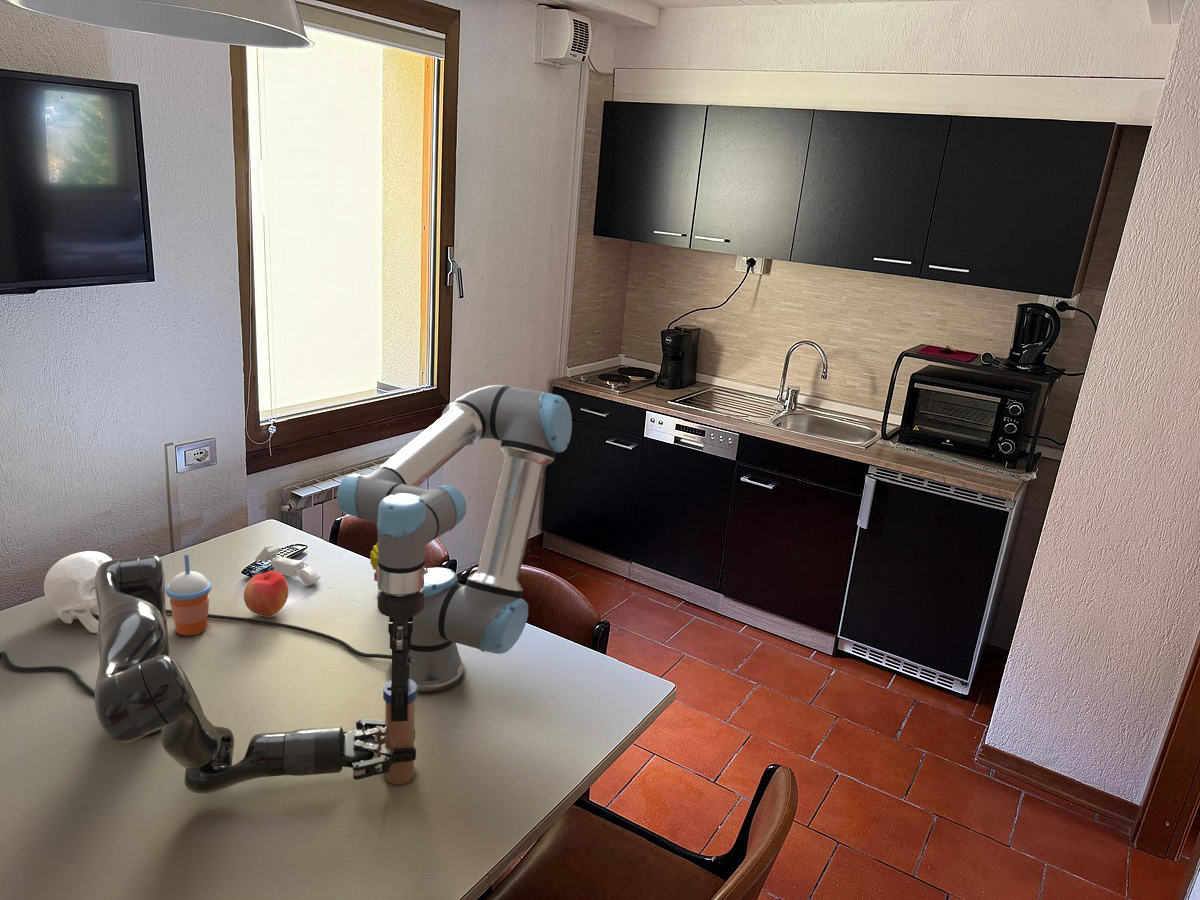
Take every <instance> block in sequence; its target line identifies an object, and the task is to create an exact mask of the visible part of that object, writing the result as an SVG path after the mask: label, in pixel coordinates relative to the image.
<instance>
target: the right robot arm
mask: <svg viewBox="0 0 1200 900" xmlns="http://www.w3.org/2000/svg"><path fill="white" fill-rule="evenodd" d="M572 417H573V416H572V412H571V407H570V405H569V403H568V401H567V400H566V399H565V397H563V396H561V395H559V394H554V393H551V392H547V391H540V390H535V389H529V388H528V389H527V388H520V387H514V386H509V385H504V384H493V385H487V386H483V387H479V388H477V389H473V390H471V391H469V392H467V393H465V394H463V395H462V396H460V397H457V398H456V399H455V400H453V401H452V402H450V403H449V404H448V405H447V406H446V407H444V409H443V411H442V413H441V417H439V418H438V419H437V420H436V421H435V422H433V423H432V424H431V425H429V426H428V427H427V428H426V429H424V430H423V431H422V432H420V434H418V435H416V436H415V437H414V438H413V439H412V440H410V442H408V443H407V444H406V445H404V446H403V447H401V449H400V450H398V451H397V452H396V453H394V454H393V455H391V456H390V457H389V458H388V459H387V460H386V461H384V462H383V463H382V464H380V465H379V466H378V467H377V468H376V469H374V470H373V471H372V472H371V473H369V474H368V475H367V474H366V475H365V474H364V473H350V474H348V475H346V476H345V477H344V478H343V479H342V480H341V482H340V483H339V486H338V488H337V492H336V500H337V501H336V502H337V506H338V508H339V510H340V511H341V512H342V513H343V514H345V515H348V516H351V517H355V518H357V519H359V520H365V521H370V522H374V523H376V529H377V543H378V564H377V581H376V582H377V584H376V585H377V610H378V611H379V613H380V614H382V615H383V616H385V617H388V622H387V623H388V625H387V626H388V627H387V629H388V630H387V632H388V633H387V634H389V649H390V650H391V654H383V653H366V652H363V651H359V650H357V649H355V648H354V647H353V646H351V645H350V644H348V643H347V642H346V641H344V640H342V639H340V638H338V637H335V636H332V635H329V634H327V633H322V632H320V631H317V630H312V629H309V628H306V627H301V626H298V625H293V624H288V623H283V622H277V621H273V620H264V619H257V618H249V617H240V616H234V615H233V616H232V615H223V614H211V613H208V616H207V619H214V620H215V619H217V620H227V621H236V622H237V621H238V622H246V623H253V624H261V625H267V626H274V627H278V628H285V629H289V630H294V631H298V632H302V633H306V634H308V635H314V636H317V637H320V638H324V639H326V640H329V641H332V642H334V643H336V644H339V645H340V646H342V647H344V648H345V649H347V651H349V652H351V653H352V654H354V655H355V656H358V657H362V658H367V659H385V660H390V664H389V679H390V681H391V680H392V685H389V686H387V690H391V722H396V721H408V684H407V679H410V680H412V681H414V682H415V683H416V684H417V694H430V693H431V694H432V693H438V692H441V691H445V690H447V689H450V688H451V687H453V686H455V685H456V684H457V683H458V682H459V681H460V680H461V679H462V676H463V672H464V667H465V665H464V662H463V660H462V657H461V656H460V653H459V649H458V646H457V644H459V645H463V646H466V647H470V648H473V649H477V650H479V651H481V652H482V653H484V652H487V653H491V654H495V655H502V654H505V653H507V652H509V651H510V650H511V649H512V648H513V647H514V646H515V645H516V644H517V642H518V641H519V639H520V637H522V634H523V632H524V629H525V627H526V625H527V621H528V617H529V604H528V602H527V601H526V600H525V599H524V598H522V597H523V592H524V588H523V587H522V585H521V583H520V582H519V577H520V573H521V570H522V565H523V562H524V557H525V554H526V553H525V552H526V549H527V543H528V540H529V535H530V532H531V528H532V524H533V521H534V515H535V511H536V507H537V503H538V499H539V495H540V491H541V487H542V482H543V478H544V475H545V471H546V470H545V469H546V467H548V466H549V465H551V464H552V463H554V462H555V459H556V455H557V453H558V454H560V453H563V452H565V451H566V449H568V445H570V441H571V437H572V431H573V430H572V429H573V418H572ZM483 439H488V440H489V439H490V440H496V441H501V442H500V446H499V449H500V451H501V453H502V454H503V457H504V460H503V463H502V464H503V465H502V468H501V472H500V476H499V480H498V483H497V489H496V493H495V497H494V501H493V504H492V509H491V513H490V517H489V521H488V525H487V528H486V534H485V537H484V540H483V545H482V549H481V554H480V557H479V561H478V565H477V569H476V571H475V572H474V573H472V574H471V575H469V576H467V579H466V583H465V584H462V583H460V582H459V581H458V580H459V579H458V575H457V573H456V572H455V571H454V570H453V569H450V568H446V567H428V568H425V564H426V546H427V545H428V544H430V543H432V542H433V541H434V540H436V539H437V538H440V537H441V536H442V535H444V534H446V533H447V532H449V531H452V530H453V529H454V528H455V527H456V526H457V525H458V524H460V523H461V522H462V521H463V520H464V518H465V517H466V514H467V502H466V499H465V496H464V495H463V493H462V492H461V491H460V490H459V489H458V488H456V487H455V486H452V485H450V484H442V485H439V486H435V487H433V488H431V489H429V488H428V489H427V488H423V487H420V486H421V485H422V484H424V483H425V482H426V481H427V480H428V479H429V478H431V476H433V475H434V474H435V473H436V472H438V470H440V469H441V468H442V467H443V466H444V465H445V464H447V462H449V461H450V460H451V459H453V457H455V456H456V455H457V454H458V453H459V452H460V451H461V450H463V448H465V447H466V446H472V445H475V444H477V443H478V442H480V440H483ZM378 588H379V589H378ZM166 614H167V615H168V614H169V615H172V610H171V609H166Z"/></svg>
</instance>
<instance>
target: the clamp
mask: <svg viewBox="0 0 1200 900" xmlns="http://www.w3.org/2000/svg"><path fill="white" fill-rule="evenodd" d="M280 549H281V547H279V546H278V545H277V544H272V545H266V546H264V547H263V549H262V550H261V551H260V552H259V554H258V555H257V556H256V557H255V559H254V562H255V563H256V561H259V560H262V561H268V560H271V562H270V563H269V564H271V565H272V566H273V568H274V571H275V572H278V573H281V574H282V575H283V576H288V577H292V578H296V577H298V578H299V579H300V580H301V582H303V584H304V585H305V587H309V586H312V585H314V584H316V583H318V582H319V580H320V579H321V578H322V577H321V575H320V574H319V573H318V572H317V570H315V569H314V568H313V566H312V565H310V564H309V565H308V564H307V563H305V562H304V561H303V560H301V559H300V560H299V559H292V558H289V557H285V556H278V553H279V551H280ZM273 558H274V559H273ZM272 559H273V560H272ZM305 566H306V567H305ZM270 571H271V570H270Z"/></svg>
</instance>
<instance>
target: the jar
mask: <svg viewBox="0 0 1200 900" xmlns="http://www.w3.org/2000/svg"><path fill="white" fill-rule="evenodd" d="M384 702H385V701H384ZM384 707H385V708H384V709H385V710H384V713H385V715H384V716H385V717H384V718H385V719H384V720H385V736H384V737H385V744H384V748H385V749H392V750H393V751H394V749H398V748H410V747H414V748H415V739H414V729H415V713H416V712H415V711H416V709H415V707H416V699H415V700H414V701H413V702H411V703H409V704H408V721H396V722H391V704H388V703H387V702H385V704H384ZM414 770H415V760H413V761H409V762H398V763H393V764H392V765H391V766H390V768H389V772H387V773H384V777H385V780H386V781H387V782H388V783H390V784H392V785H403V784H407V783H408V782H410V781H411V780H412V779H413V777H414V775H415V774H414V772H415V771H414Z"/></svg>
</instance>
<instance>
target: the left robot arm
mask: <svg viewBox="0 0 1200 900" xmlns="http://www.w3.org/2000/svg"><path fill="white" fill-rule="evenodd" d="M95 593H96V599H97V604H98V610H99V616H98V621H99V626H98V633H97V644H98V645H97V646H98V654H99V667H98V672H97V677H96V683H95V688H94V689H93V688H92V687H90V686H89V685H88V684H86V682H85V681H83V679H82V678H81V677H80V675H79V674H78V673H77V672H76V671H75V670H73V669H71V668H69V667H66V666H59V665H45V666H19V665H15V664H13V663H12V661H11V660H10V658H9V657H8V655H7V653H6V652H5V651H0V657H2V659H3V661H4V663H5V664H6V665H7V667H8V668H10V669H12V670H14V671H20V672H39V671H40V672H41V671H60V672H65V673H68V674H70V675H72V676H73V678H74V679H75V680H76V682H77V683H78V685H80V686H81V687H82V688H83V689H84V690H86V691H87V692H88V693H89V694H90V695H92V696H93V697H94V707H95V712H96V717H97V721H98V722H99V725H100V727H101V729H102V730H103V732H104V734H105V735H106V736H107V737H109V739H111V740H113V741H114V742H117V743H121V744H125V743H126V744H127V743H130V742H134V741H136V740H139V739H141V738H144V737H146V736H150V735H153V734H157V733H159V732H160V741H161V745H162V748H163V750H164V751H165V752H166V754H167V755H169V756H170V757H171V758H172V760H174V761H175V762H176V763H177V764H178V765H180V766H181V767H183V768H185V769H184V770H185V771H184V778H183V779H184V786H185V788H186V789H187V790H189V791H190V792H192V793H195V794H198V795H207V794H213V793H215V792H220V791H222V790H224V789H228V788H229V787H232V786H235V785H238V784H241V783H244V782H248V781H252V780H256V779H261V778H271V777H273V778H274V777H284V776H292V777H293V776H294V777H300V776H301V777H302V776H304V777H305V776H314V775H325V774H328V775H329V774H339V773H341V772H342V771H343V768H349V769H352V774H353V775H352V776H353V777H352V778H353V779H354V780H355V781H356V780H362V779H366V778H370V777H374V776H378V775H382V774H383V775H384V774H385V773H387V772H389V768H390V766H391V765H392V764H393V763H398V762H409V761H413V760H414V761H415V760H416V759H417V749H416V747H415V746H414V747H410V748H398V749H394V751H393V750H392V749H385V747H382V745H385V719H384V720H383V719H370V718H357V719H356V720H355V727H354V728H353V729H351V730H348V731H344V729H343V727H342V726H329V727H316V728H315V727H314V728H302V729H301V728H299V729H296V730H291V731H282V732H281V731H279V732H267V733H266V732H265V733H258V734H254V735H253V736H252V737H251V738H250V739H249V742H248V745H247V749H246V751H245V754H244V756H243V758H242V759H241V760H239V761H238V762H236V763H235V764H233V759H234V750H235V737H234V733H233V731H232V730H231V729H230V728H228V727H224V726H218V725H217V726H215V725H213V724H212V722H211V721H209V719H208V718H207V717H206V715H205V713H204V710H203V707H202V705H201V703H200V700H199V698H198V695H197V693H196V692H195V690H194V687H193V686H192V684H191V682H190V680H189V678H188V676H187V674H186V673H185V671H184V669H183V668H182V666H181V665H180V664H179V663H178V661H176V660H175V659H174V658H173V657H172V656H171V655H170V654H171V653H170V642H169V630H168V623H167V622H168V621H167V613H166V610H167V608H166V573H165V566H164V563H163V561H162V559H161V558H160V557H159V556H158V555H155V554H146V555H139V556H132V557H124V558H115V559H112V560H110V561H107V562H104V563H102V564H101V565H100V566H99V568H98V569H97V572H96V576H95ZM380 727H381V728H380ZM414 740H416V729H415V728H414ZM380 765H381V766H380Z"/></svg>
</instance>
